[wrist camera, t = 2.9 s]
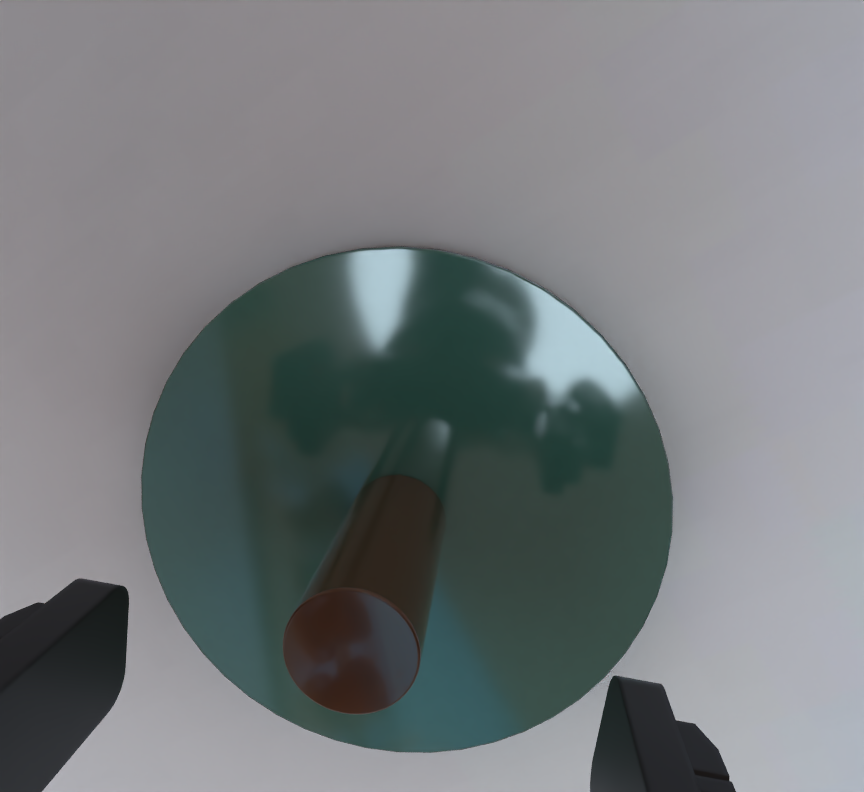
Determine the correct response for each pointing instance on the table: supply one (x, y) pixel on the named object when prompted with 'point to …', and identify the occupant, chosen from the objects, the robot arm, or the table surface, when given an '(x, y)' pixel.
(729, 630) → the table surface
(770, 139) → the table surface
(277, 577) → the lid
